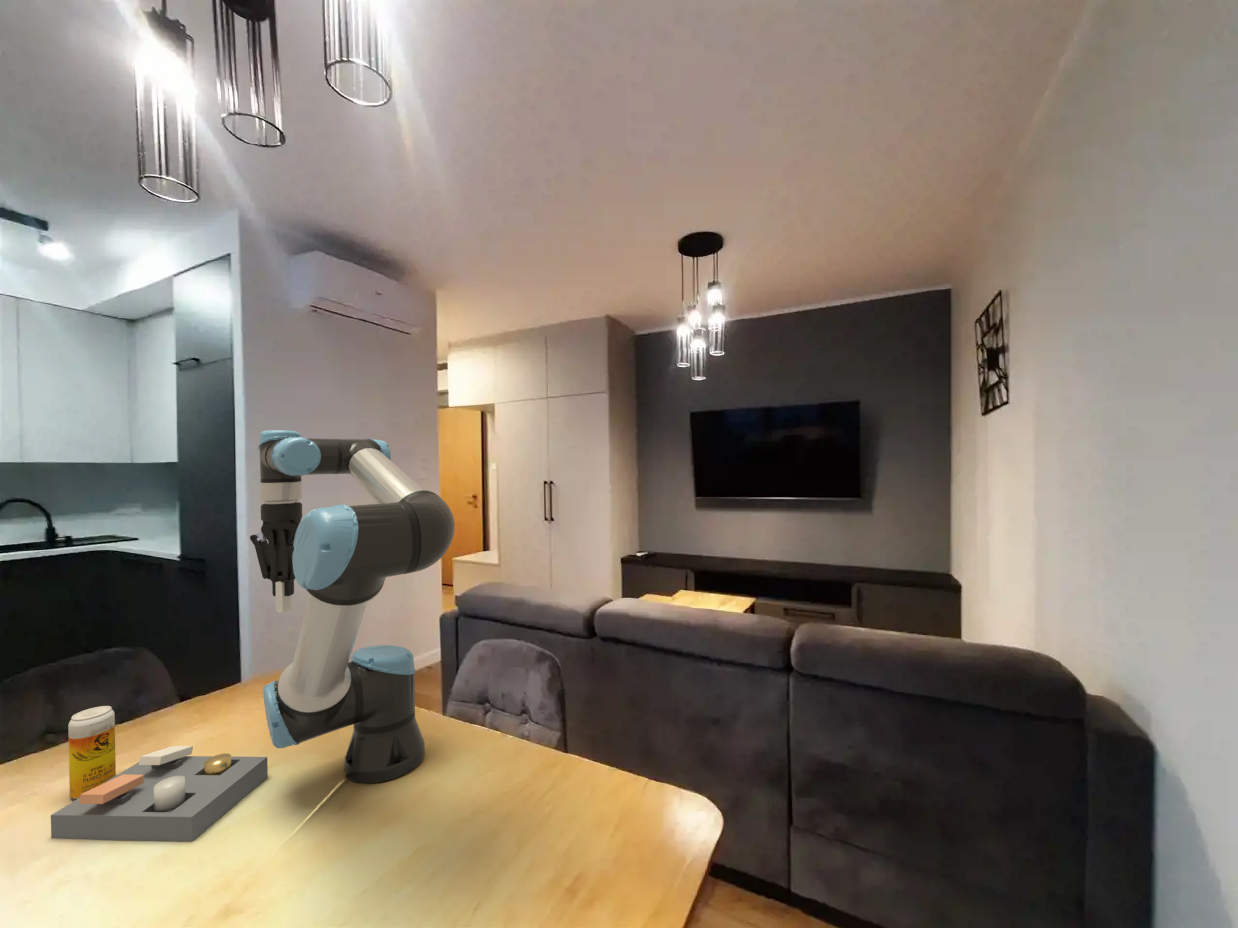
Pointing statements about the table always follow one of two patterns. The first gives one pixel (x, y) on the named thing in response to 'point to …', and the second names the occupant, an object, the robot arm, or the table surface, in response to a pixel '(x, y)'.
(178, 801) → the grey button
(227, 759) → the gold rounded piece
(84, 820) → the grey slotted tray
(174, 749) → the white rocker
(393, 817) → the table surface
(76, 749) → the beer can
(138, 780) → the terracotta rocker
